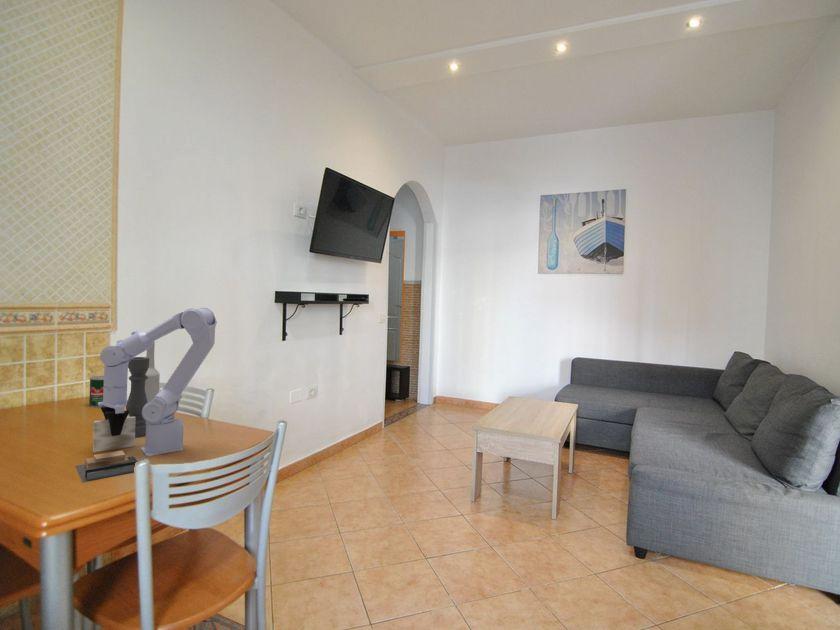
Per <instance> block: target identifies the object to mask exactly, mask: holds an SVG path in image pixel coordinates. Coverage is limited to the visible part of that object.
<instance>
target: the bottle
mask: <svg viewBox="0 0 840 630" xmlns="http://www.w3.org/2000/svg"><path fill="white" fill-rule="evenodd" d="M155 343H156V340H155V341H154V343H153V346H152V347H151V348H150V349H148V350H146V355H145V357H148V358H149V368H148V371H147V372H146V374H145V375H146V376H148V379H146V381H145V392H146V397H147V401H148V402H150V401H152V400H153V398H154V397H155V396H156V395H157V394H158V393H159V392H160V378H161V377H160V372H159V371H158V370H157V368H156V366H155Z"/></svg>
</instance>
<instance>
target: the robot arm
mask: <svg viewBox="0 0 840 630" xmlns="http://www.w3.org/2000/svg"><path fill="white" fill-rule="evenodd" d="M217 324H218V321H217V318H216V316H215V314H214V312H213V311H212V310H211V309H209V308H208V307H200V308H193V307H192V308H188V309H185V310H184V311H181V312H178V313H176V314H174V315H173V316H171V317H169V318H168V319H166V320H164V321H163V322H161V323H159V324H158V325H156V326H154V327H153V328H151V329H150V330H148V331H145V330H139V331H138V330H134V331H132V332H130V334H131V335H129V336H127V337H126V338H124V339H119V340H117V341H116V344H115V345H111V344H110V345H107V346H106V347H104V348H103V349H102V350H101V351H100V355H99V358H100V361H101V363H102V364H103V367H104V368H103V376H104V390H103V402H98V405H99V406H102V407H99V408H100V409H101V412H102V415H103V416H104V420H109V424H110V432H111V435H112V436H117V435H121V432H122V428H123V425H124V422H125V419H126V418H127V417H129V411H128V410H125V408H126V405H127V402H128V398H127V397H128V380H129V376H128V375H129V368H128V363H129V361H130V360H131V359H132V358H133V357H138V356H139V355H140V354H142V353H144V352H147V350H148V349H150V348H151V347H152V346H153V343H154V341H155V342H156V341H157V340H159V339H161V338H162V337H164V336H167V335H169V334H171V333H172V332H175V331H177V330H182V329H183V330H185V331H186V332H187V334H188V335H189V336H190V338H191V341H192V344H191V346H190V347H189V349H188V350H187V351H186V353H185V355H184V356H183V357H182V359H181V361H180V362H179V364H178V365H177V367H176V368H175V370H174V371H173V373H171V376H170V378H168V380H167V382H166V383H165V384H164V386H163V388H161V390H159V393H158V394H157V395H156V396H155V397H154V398H153V400H152V401H150V402H148V403H147V404H145V405H144V407H143V409H142V416H143V418H144V419H145V420H146V436H145V437H144V438H145V439H144V440H145V441H144V443H145V445H144V446H143V447H140V450H141V451H142V452H143V454H145V456H147V457H150V456H158V455H162V454H167V453H173V452H180V451H184V447H183V446H184V422H183V419H182V418H175V413H177V411H178V410H179V405H180V401H181V399H182V398H183V397H182V396H183V395H182V394H183V392H184V391H185V389H186V387H187V386H188V385H189V383H190V382H191V380H192V379H193V377H194V376H195V374H196V373H197V371H198V370H199V368H200V366H201V365H202V364H203V362H204V360H206V358H207V356H208V355H209V353H210V351H211V350H212V349H213V347H214V345H215V339H216V337H215V336H216V327H217Z"/></svg>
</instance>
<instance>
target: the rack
mask: <svg viewBox="0 0 840 630" xmlns="http://www.w3.org/2000/svg"><path fill="white" fill-rule="evenodd" d="M126 457H127V458H128V459H129V462H124V463H119V464H113V465H107V466H102V467H96V468H90V469H87V468H86V466H85V463H84V464H80V465H74V467H75V469H76V472H77V474H78V476H79V478H80V480H81V483H82V484H83V483H88V482H94V481H98V480H105V479H109V478H114V477H119V476H124V475H129V474H130V475H131V474H135V473H134V467H135V463H136V462H138V460H137V459H136V458H135V456H134V455H133V456H126Z"/></svg>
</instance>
